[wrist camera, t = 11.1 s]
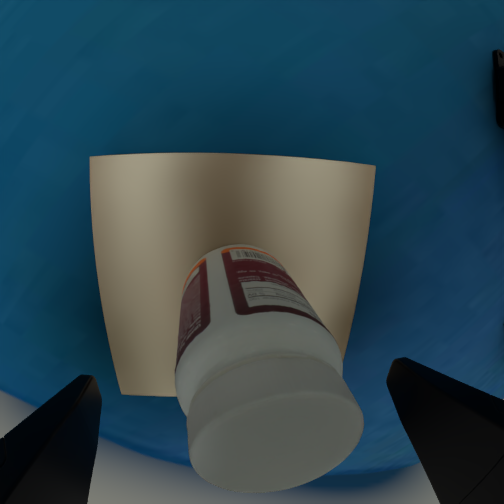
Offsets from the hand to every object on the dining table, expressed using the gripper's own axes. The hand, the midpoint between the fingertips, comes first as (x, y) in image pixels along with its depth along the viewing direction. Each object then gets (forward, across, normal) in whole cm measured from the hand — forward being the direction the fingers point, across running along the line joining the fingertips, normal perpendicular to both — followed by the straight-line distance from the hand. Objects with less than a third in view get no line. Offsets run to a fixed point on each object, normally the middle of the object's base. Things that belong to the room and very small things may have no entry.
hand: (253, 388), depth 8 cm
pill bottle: (+6, 0, 0) cm, 6 cm away
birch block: (+9, 0, 0) cm, 9 cm away
